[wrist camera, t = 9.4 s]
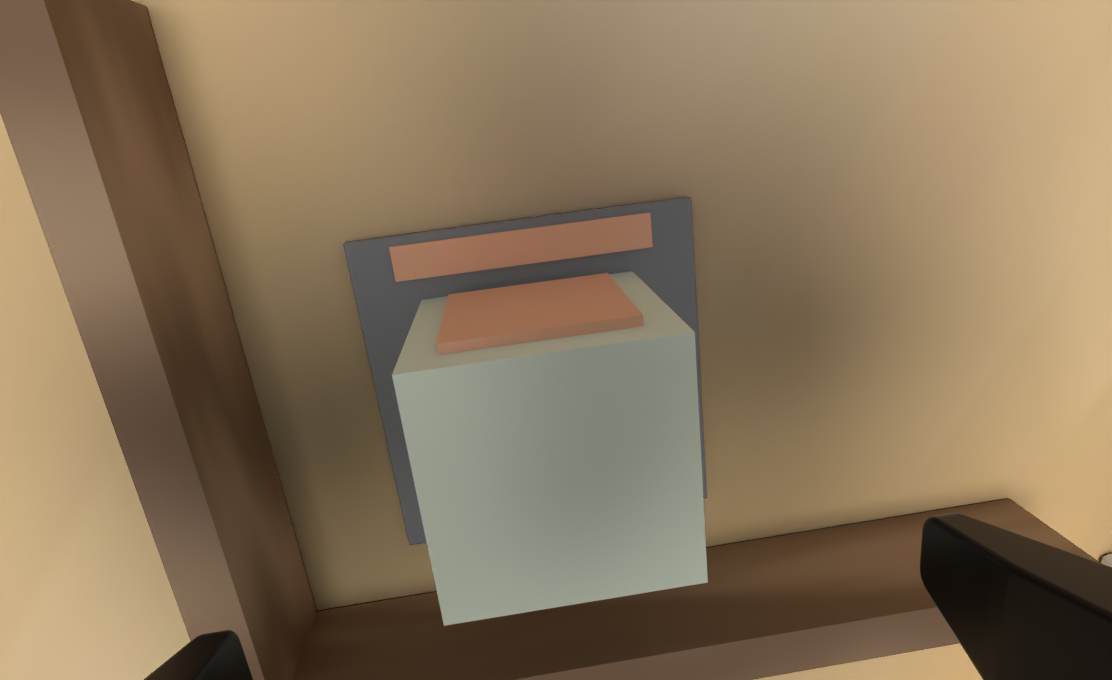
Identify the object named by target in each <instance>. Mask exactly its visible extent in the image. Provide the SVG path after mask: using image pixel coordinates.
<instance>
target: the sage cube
mask: <svg viewBox="0 0 1112 680" xmlns="http://www.w3.org/2000/svg"><path fill="white" fill-rule="evenodd" d="M392 378H393V383H394V388H395V392H396V397H397V402H398V407H399V412H400V417H401V421H402V426H403V431H404V436H405V441H406V445H407V450H408V455H409V460H410V465H411V470H412V474H413V479H414V484H415V489H416V494H417V499H418V503H419V508H420V513H421V518H422V523H423V527H424V532H425V537H426V542H427V547H428V552H429V556H430V561H431V566H432V571H433V576H434V581H435V585H436V590H437V595H438V600H439V605H440V609H441V614H442V619H443V624H444V626H446V625H452V624H458V623H464V622H470V621H476V620H482V619H488V618H494V617H501V616H507V615H513V614H519V613H525V612H531V611H537V610H543V609H549V608H555V607H561V606H568V605H574V604H580V603H586V602H592V601H598V600H604V599H610V598H616V597H622V596H628V595H635V594H641V593H647V592H653V591H659V590H665V589H671V588H677V587H683V586H689V585H695V584H702V583H708V576H707V557H706V538H705V519H704V500H703V481H702V461H701V442H700V423H699V404H698V385H697V365H696V346H695V332H694V331H693V330H692V329H691V328H690V327H689V326H688V325H687V324H686V323H685V322H684V321H683V320H682V319H681V318H680V317H679V316H678V315H677V314H676V313H675V312H674V311H673V310H672V309H671V308H670V307H669V306H668V305H666V304H665V303H664V302H663V301H662V300H661V299H660V298H659V297H658V296H657V295H656V294H655V293H654V292H653V291H652V290H651V289H650V288H649V287H648V286H647V285H646V284H645V283H644V282H643V281H642V280H641V279H640V278H639V277H638V276H637V275H636V274H635V273H634V272H633V271H629V272H622V273H615V274H608V273H603V274H595V275H588V276H581V277H573V278H566V279H558V280H551V281H544V282H536V283H529V284H522V285H514V286H507V287H499V288H492V289H485V290H477V291H470V292H462V293H455V294H448V296H445V297H438V298H430V299H423V300H421V303H420V305H419V308H418V310H417V313H416V315H415V318H414V320H413V323H412V325H411V328H410V330H409V333H408V335H407V338H406V341H405V343H404V346H403V348H402V351H401V353H400V356H399V358H398V361H397V363H396V366H395V368H394V371H393V373H392Z"/></svg>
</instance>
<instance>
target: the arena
mask: <svg viewBox="0 0 1112 680" xmlns="http://www.w3.org/2000/svg"><path fill="white" fill-rule="evenodd" d="M0 114H1V116H2V119H3V122H4V125H5V127H6V130H7V133H8V136H9V138H10V141H11V144H12V147H13V150H14V152H15V155H16V158H17V161H18V163H19V166H20V169H21V172H22V174H23V177H24V180H25V183H26V186H27V188H28V191H29V194H30V197H31V199H32V202H33V205H34V208H35V211H36V213H37V216H38V219H39V222H40V224H41V227H42V230H43V233H44V235H45V238H46V241H47V244H48V247H49V249H50V252H51V255H52V258H53V260H54V263H55V266H56V269H57V271H58V274H59V277H60V280H61V283H62V285H63V288H64V291H65V294H66V296H67V299H68V302H69V305H70V308H71V310H72V313H73V316H74V319H75V321H76V324H77V327H78V330H79V332H80V335H81V338H82V341H83V344H84V346H85V349H86V352H87V355H88V357H89V360H90V363H91V366H92V368H93V371H94V374H95V377H96V380H97V382H98V385H99V388H100V391H101V393H102V396H103V399H104V402H105V405H106V407H107V410H108V413H109V416H110V418H111V421H112V424H113V427H114V429H115V432H116V435H117V438H118V441H119V443H120V446H121V449H122V452H123V454H124V457H125V460H126V463H127V465H128V468H129V471H130V474H131V477H132V479H133V482H134V485H135V488H136V490H137V493H138V496H139V499H140V501H141V504H142V507H143V510H144V513H145V515H146V518H147V521H148V524H149V526H150V529H151V532H152V535H153V538H154V540H155V543H156V546H157V549H158V551H159V554H160V557H161V560H162V562H163V565H164V568H165V571H166V574H167V576H168V579H169V582H170V585H171V587H172V590H173V593H174V596H175V598H176V601H177V604H178V607H179V610H180V612H181V615H182V618H183V621H184V623H185V626H186V629H187V632H188V635H189V637H190V640H191V641H192V640H193V639H194V638H196V637H197V636H199V635H202V634H206V633H213V632H219V631H225V630H231V631H234V632H235V633H236V634H237V635H238V637H239V639H240V642H241V645H242V648H243V651H244V654H245V657H246V660H247V663H248V666H249V669H250V672H251V675H252V678H253V680H752V679H758V678H764V677H770V676H775V675H781V674H787V673H792V672H798V671H804V670H809V669H815V668H821V667H827V666H832V665H838V664H844V663H849V662H855V661H861V660H867V659H872V658H878V657H884V656H889V655H895V654H901V653H906V652H912V651H918V650H924V649H929V648H935V647H941V646H946V645H952V644H958V643H960V642H959V641H958V639H957V637H956V636H955V634H954V633H953V631H952V630H951V628H950V626H949V625H948V623H947V622H946V620H945V618H944V617H943V615H942V614H941V612H940V611H939V609H938V607H937V606H936V604H935V603H934V601H933V599H932V598H931V596H930V595H929V593H928V592H927V590H926V588H925V586H924V584H923V582H922V579H921V575H920V555H921V541H922V528H923V524H924V522H925V520H926V519H927V518H929V517H931V516H936V515H943V514H949V513H961V514H964V515H967V516H969V517H972V518H975V519H978V520H981V521H983V522H986V523H989V524H992V525H995V526H997V527H1000V528H1003V529H1006V530H1009V531H1012V532H1014V533H1017V534H1020V535H1023V536H1026V537H1028V538H1031V539H1034V540H1037V541H1040V542H1042V543H1045V544H1048V545H1051V546H1054V547H1056V548H1059V549H1062V550H1065V551H1068V552H1071V553H1073V554H1076V555H1079V556H1082V557H1085V558H1087V559H1090V560H1093V561H1096V562H1099V561H1097V560H1096V559H1094V558H1093V557H1091V556H1090V555H1089V554H1087V553H1086V552H1084V551H1083V550H1082V549H1080V548H1079V547H1077V546H1076V545H1074V544H1073V543H1072V542H1070V541H1069V540H1067V539H1066V538H1065V537H1063V536H1062V535H1060V534H1059V533H1057V532H1056V531H1055V530H1053V529H1052V528H1050V527H1049V526H1048V525H1046V524H1045V523H1043V522H1042V521H1040V520H1039V519H1038V518H1036V517H1035V516H1033V515H1032V514H1031V513H1029V512H1028V511H1026V510H1025V509H1023V508H1022V507H1021V506H1019V505H1018V504H1016V503H1015V502H1014V501H1012V500H1011V499H1003V500H997V501H991V502H985V503H979V504H973V505H967V506H960V507H954V508H948V509H942V510H936V511H930V512H924V513H918V514H911V515H905V516H899V517H893V518H887V519H881V520H875V521H868V522H862V523H856V524H850V525H844V526H838V527H832V528H825V529H819V530H813V531H807V532H801V533H795V534H789V535H783V536H776V537H770V538H764V539H758V540H752V541H746V542H740V543H733V544H727V545H721V546H715V547H709V548H706V557H707V576H708V583H702V584H695V585H689V586H683V587H677V588H671V589H665V590H659V591H653V592H647V593H641V594H635V595H628V596H622V597H616V598H610V599H604V600H598V601H592V602H586V603H580V604H574V605H568V606H561V607H555V608H549V609H543V610H537V611H531V612H525V613H519V614H513V615H507V616H501V617H494V618H488V619H482V620H476V621H470V622H464V623H458V624H452V625H446V626H444V624H443V619H442V614H441V609H440V605H439V600H438V595H437V592H433V593H427V594H421V595H414V596H408V597H402V598H396V599H390V600H384V601H378V602H371V603H365V604H359V605H353V606H347V607H341V608H335V609H329V610H322V611H316V608H315V604H314V601H313V597H312V593H311V590H310V586H309V583H308V579H307V576H306V572H305V569H304V565H303V562H302V558H301V554H300V551H299V547H298V544H297V540H296V537H295V533H294V530H293V526H292V523H291V519H290V515H289V512H288V508H287V505H286V501H285V498H284V494H283V491H282V487H281V484H280V480H279V476H278V473H277V469H276V466H275V462H274V459H273V455H272V452H271V448H270V445H269V441H268V437H267V434H266V430H265V427H264V423H263V420H262V416H261V413H260V409H259V406H258V402H257V398H256V395H255V391H254V388H253V384H252V381H251V377H250V374H249V370H248V366H247V363H246V359H245V356H244V352H243V349H242V345H241V342H240V338H239V335H238V331H237V327H236V324H235V320H234V317H233V313H232V310H231V306H230V303H229V299H228V296H227V292H226V288H225V285H224V281H223V278H222V274H221V271H220V267H219V264H218V260H217V257H216V253H215V249H214V246H213V242H212V239H211V235H210V232H209V228H208V225H207V221H206V218H205V214H204V210H203V207H202V203H201V200H200V196H199V193H198V189H197V186H196V182H195V179H194V175H193V171H192V168H191V164H190V161H189V157H188V154H187V150H186V147H185V143H184V140H183V136H182V132H181V129H180V125H179V122H178V118H177V115H176V111H175V108H174V104H173V100H172V97H171V93H170V90H169V86H168V83H167V79H166V76H165V72H164V69H163V65H162V61H161V58H160V54H159V51H158V47H157V44H156V40H155V37H154V33H153V30H152V26H151V22H150V19H149V15H148V12H147V8H146V6H144V5H141V4H139V3H136V2H133V1H130V0H0ZM1099 563H1100V562H1099Z"/></svg>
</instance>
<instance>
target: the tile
mask: <svg viewBox="0 0 1112 680" xmlns="http://www.w3.org/2000/svg"><path fill="white" fill-rule="evenodd" d="M343 245H344V250H345V254H346V259H347V263H348V268H349V272H350V277H351V282H352V286H353V291H354V295H355V300H356V304H357V309H358V313H359V318H360V322H361V327H362V332H363V336H364V341H365V345H366V350H367V354H368V359H369V363H370V368H371V373H372V377H373V382H374V386H375V391H376V395H377V400H378V404H379V409H380V413H381V418H382V423H383V427H384V432H385V436H386V441H387V445H388V450H389V454H390V459H391V464H392V468H393V473H394V477H395V482H396V486H397V491H398V495H399V500H400V504H401V509H402V514H403V518H404V523H405V527H406V532H407V536H408V541H409V545H414V544H421V543H427V542H426V537H425V532H424V527H423V523H422V518H421V513H420V508H419V503H418V499H417V494H416V489H415V484H414V479H413V474H412V470H411V465H410V460H409V455H408V450H407V445H406V441H405V436H404V431H403V426H402V421H401V417H400V412H399V407H398V402H397V397H396V392H395V388H394V383H393V378H392V373H393V371H394V368H395V366H396V363H397V361H398V358H399V356H400V353H401V351H402V348H403V346H404V343H405V341H406V338H407V335H408V333H409V330H410V328H411V325H412V323H413V320H414V318H415V315H416V313H417V310H418V308H419V305H420V303H421V300H423V299H430V298H438V297H445V296H448V294H455V293H462V292H470V291H477V290H485V289H492V288H499V287H507V286H514V285H522V284H529V283H536V282H544V281H551V280H558V279H566V278H573V277H581V276H588V275H595V274H603V273H608V274H615V273H622V272H629V271H633V272H634V273H635V274H636V275H637V276H638V277H639V278H640V279H641V280H642V281H643V282H644V283H645V284H646V285H647V286H648V287H649V288H650V289H651V290H652V291H653V292H654V293H655V294H656V295H657V296H658V297H659V298H660V299H661V300H662V301H663V302H664V303H665V304H666V305H668V306H669V307H670V308H671V309H672V310H673V311H674V312H675V313H676V314H677V315H678V316H679V317H680V318H681V319H682V320H683V321H684V322H685V323H686V324H687V325H688V326H689V327H690V328H691V329H692V330H693V331H694V332H695V346H696V365H697V385H698V404H699V423H700V442H701V461H702V481H703V499H704V498H707V492H706V473H705V454H704V435H703V416H702V397H701V378H700V359H699V340H698V321H697V302H696V283H695V264H694V245H693V226H692V207H691V198H689V197H682V198H674V199H667V200H659V201H652V202H644V203H636V204H629V205H621V206H614V207H606V208H598V209H591V210H583V211H576V212H568V213H561V214H553V215H545V216H538V217H530V218H523V219H515V220H507V221H500V222H492V223H485V224H477V225H470V226H462V227H454V228H447V229H439V230H432V231H424V232H417V233H409V234H401V235H394V236H386V237H379V238H371V239H363V240H356V241H348V242H345V243H344V244H343Z"/></svg>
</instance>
